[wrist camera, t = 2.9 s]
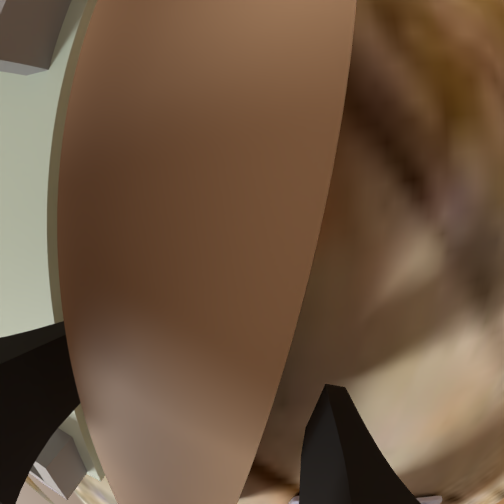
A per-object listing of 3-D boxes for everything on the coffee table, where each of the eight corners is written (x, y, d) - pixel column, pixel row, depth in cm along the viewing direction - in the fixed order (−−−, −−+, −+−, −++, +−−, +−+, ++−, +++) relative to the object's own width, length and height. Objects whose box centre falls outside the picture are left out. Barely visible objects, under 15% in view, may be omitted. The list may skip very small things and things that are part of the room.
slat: (340, 28, 7) (360, -84, 2) (232, 497, 13) (211, 563, 8) (210, 15, 7) (134, -75, 2) (167, 477, 14) (136, 538, 9)
